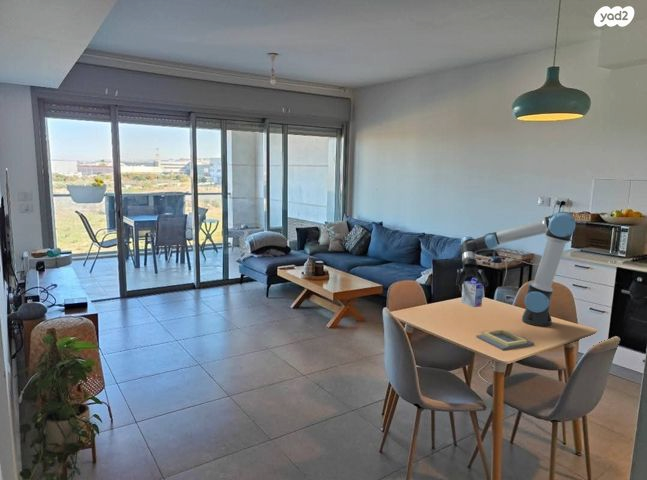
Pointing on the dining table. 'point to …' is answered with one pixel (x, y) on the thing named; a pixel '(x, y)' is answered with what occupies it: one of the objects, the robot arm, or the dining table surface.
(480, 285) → the ink cartridge box
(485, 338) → the dock
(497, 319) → the dining table surface
